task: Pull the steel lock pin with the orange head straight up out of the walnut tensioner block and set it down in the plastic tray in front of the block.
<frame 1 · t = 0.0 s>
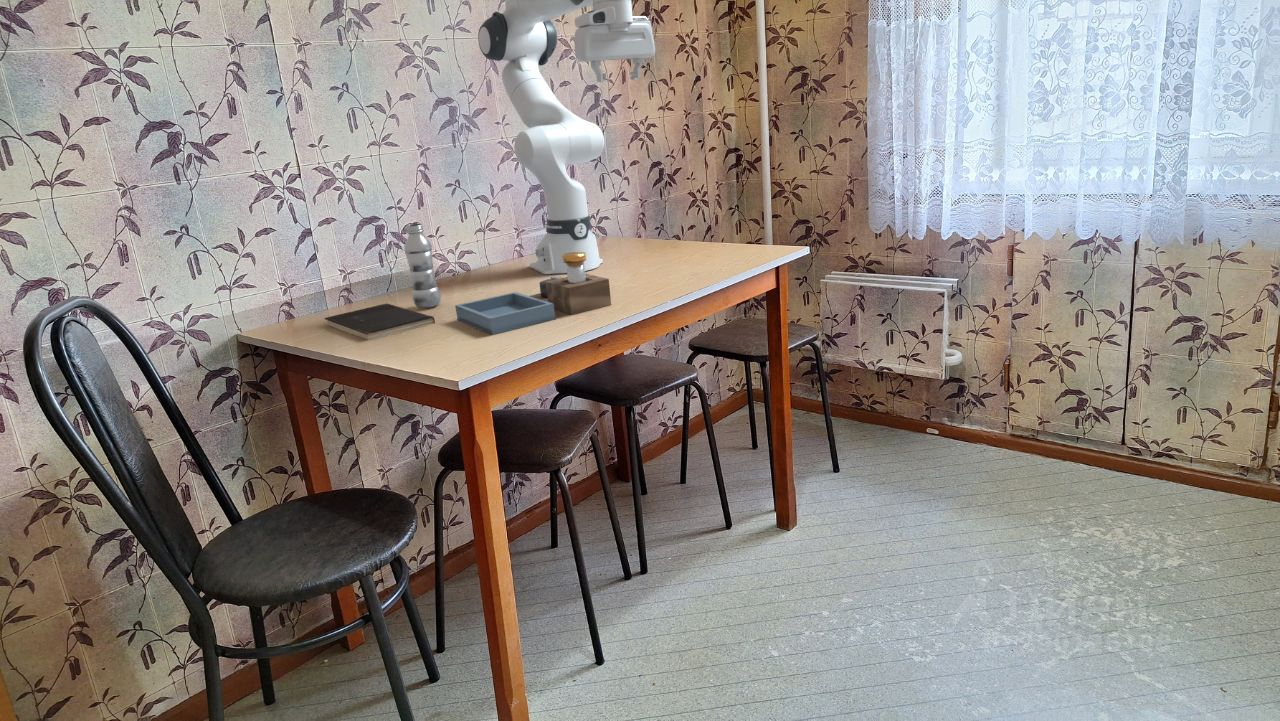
hand: (618, 80, 193), 48 cm above the table, fingers open, 8 cm apart
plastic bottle: (428, 308, 201), on the table
hardcover book: (380, 327, 189), on the table
tray: (505, 319, 183), on the table
lock pin: (576, 280, 187), in the tensioner
tensioner: (579, 306, 189), on the table
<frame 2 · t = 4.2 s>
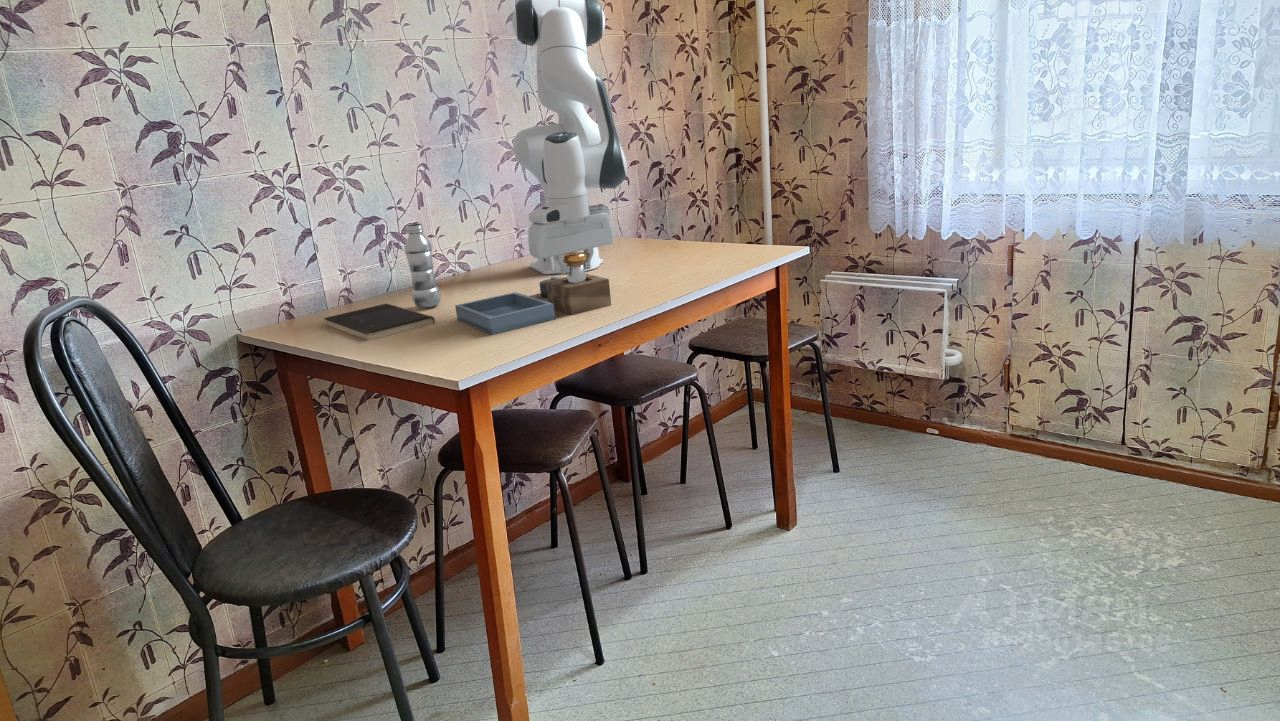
hand: (575, 271, 186), 8 cm above the table, fingers closed on lock pin, 4 cm apart
lock pin: (576, 280, 187), in the tensioner, touching gripper
everything else where it was.
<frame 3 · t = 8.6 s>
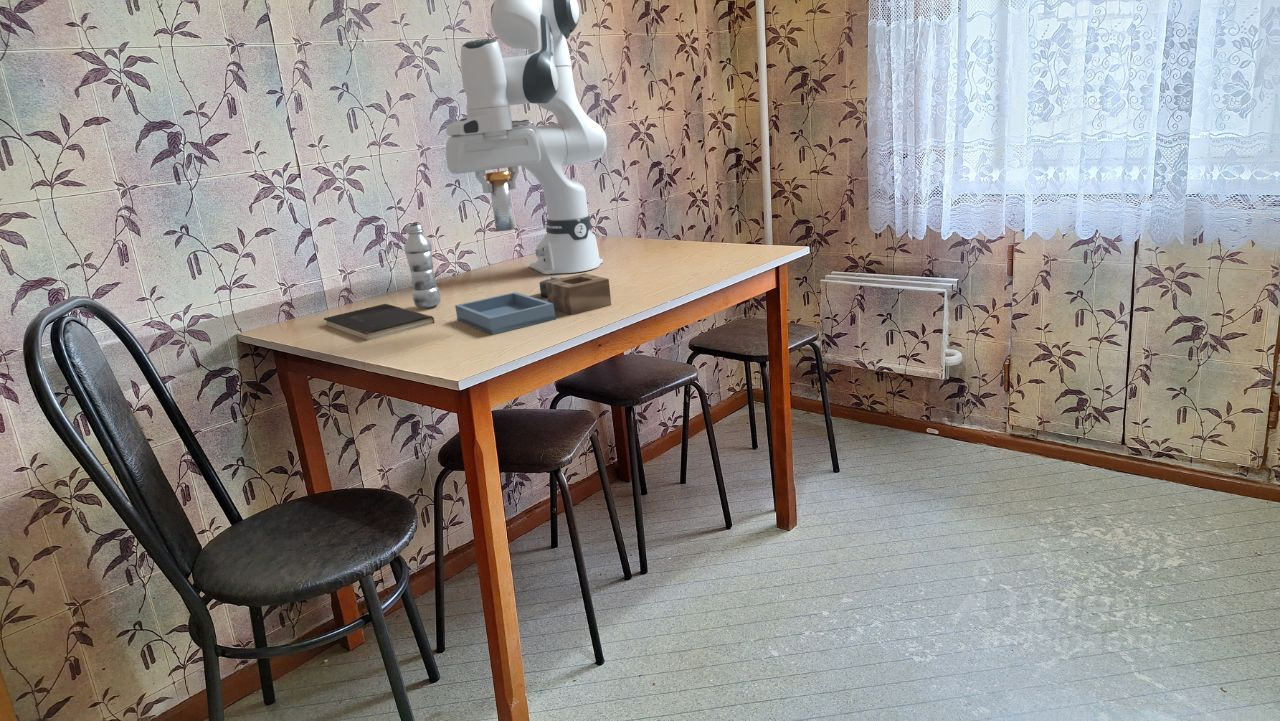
hand: (499, 191, 175), 28 cm above the table, fingers closed on lock pin, 4 cm apart
lock pin: (501, 201, 175), point 26 cm above the table, touching gripper
everything else where it was.
when the fingers open (11 cm above the table, at t = 12.9 s): lock pin moves 3 cm, resting on tray.
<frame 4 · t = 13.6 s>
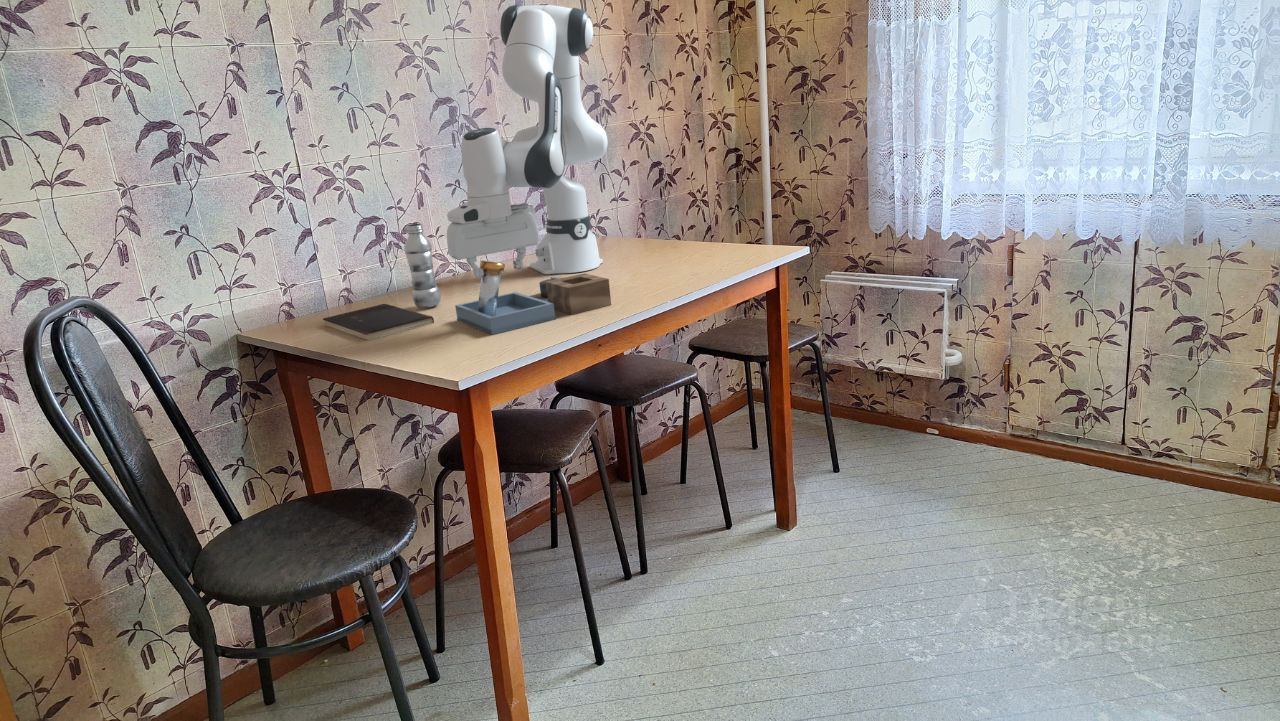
hand: (499, 272, 180), 11 cm above the table, fingers open, 8 cm apart
lock pin: (489, 290, 179), in the tray, point 7 cm above the table, tilted 16°, touching gripper
everything else where it was.
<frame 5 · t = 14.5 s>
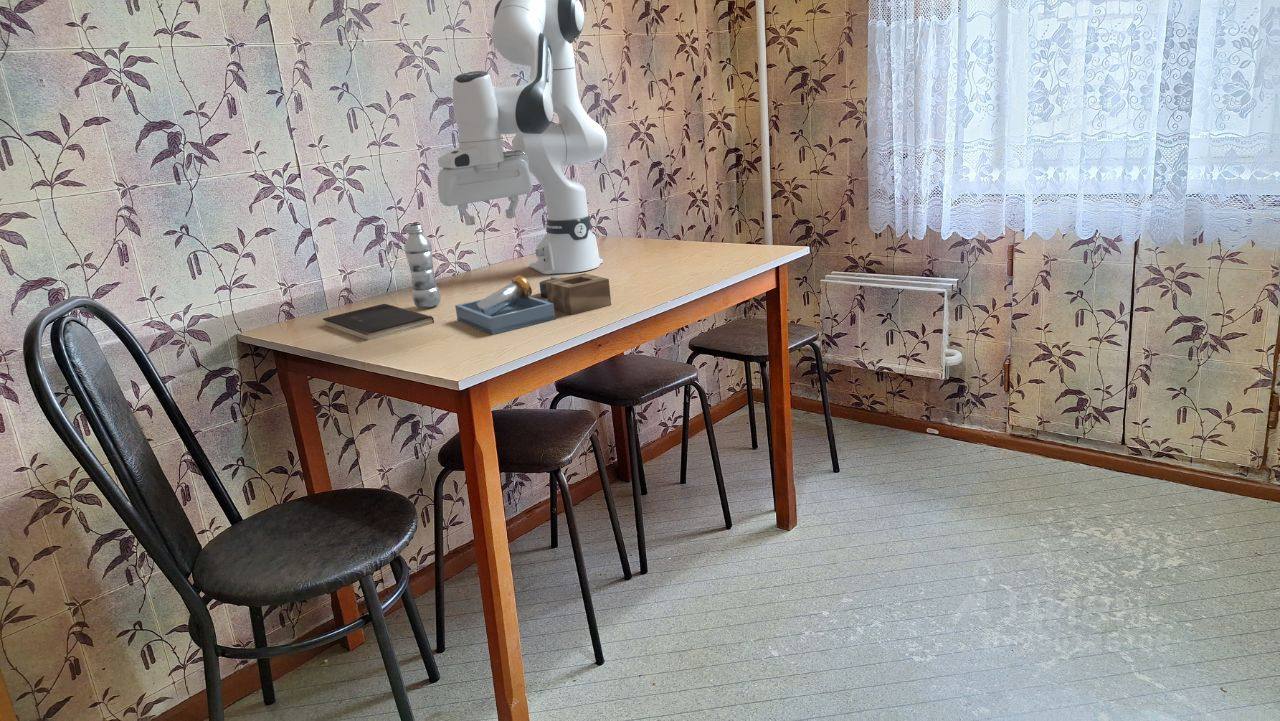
hand: (491, 221, 176), 22 cm above the table, fingers open, 8 cm apart
lock pin: (503, 298, 183), in the tray, tilted 74°
everything else where it was.
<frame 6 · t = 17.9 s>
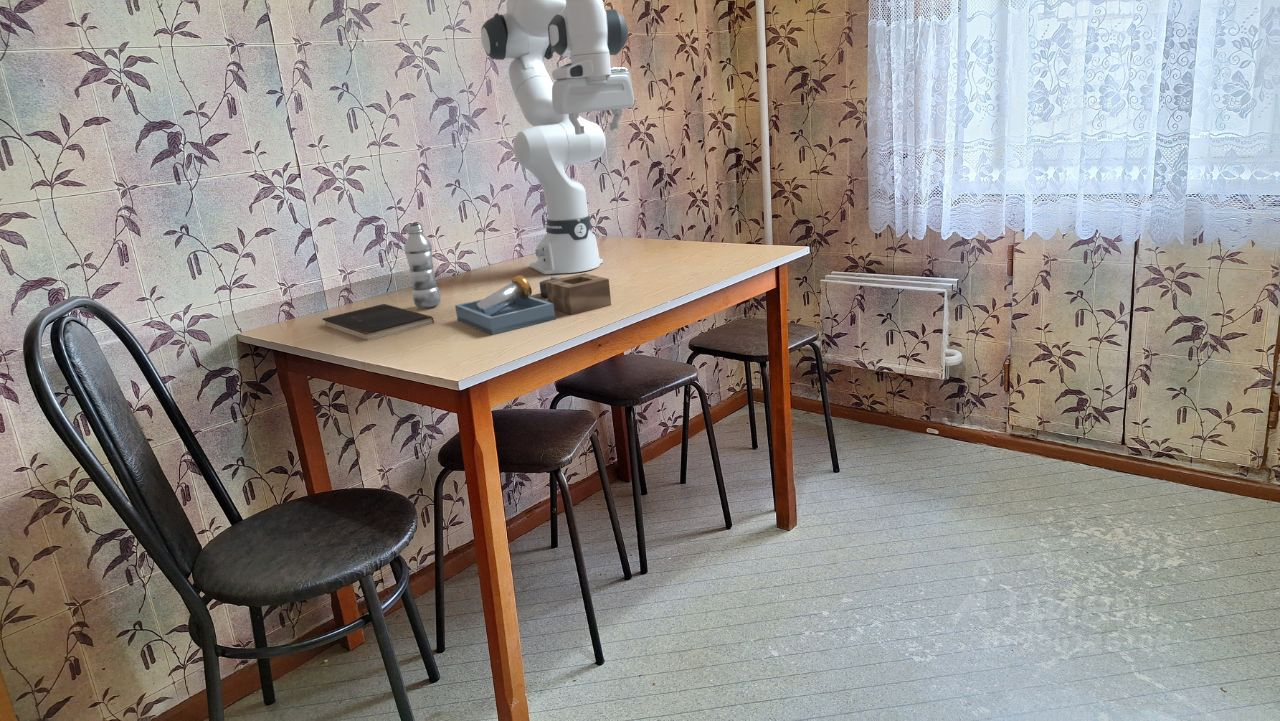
hand: (597, 132, 191), 37 cm above the table, fingers open, 8 cm apart
nothing on the table moved.
at the end: lock pin inside the target area on the tray (5.1 cm from its centre), point 4.6 cm above the tray's base; the gripper is holding nothing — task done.
